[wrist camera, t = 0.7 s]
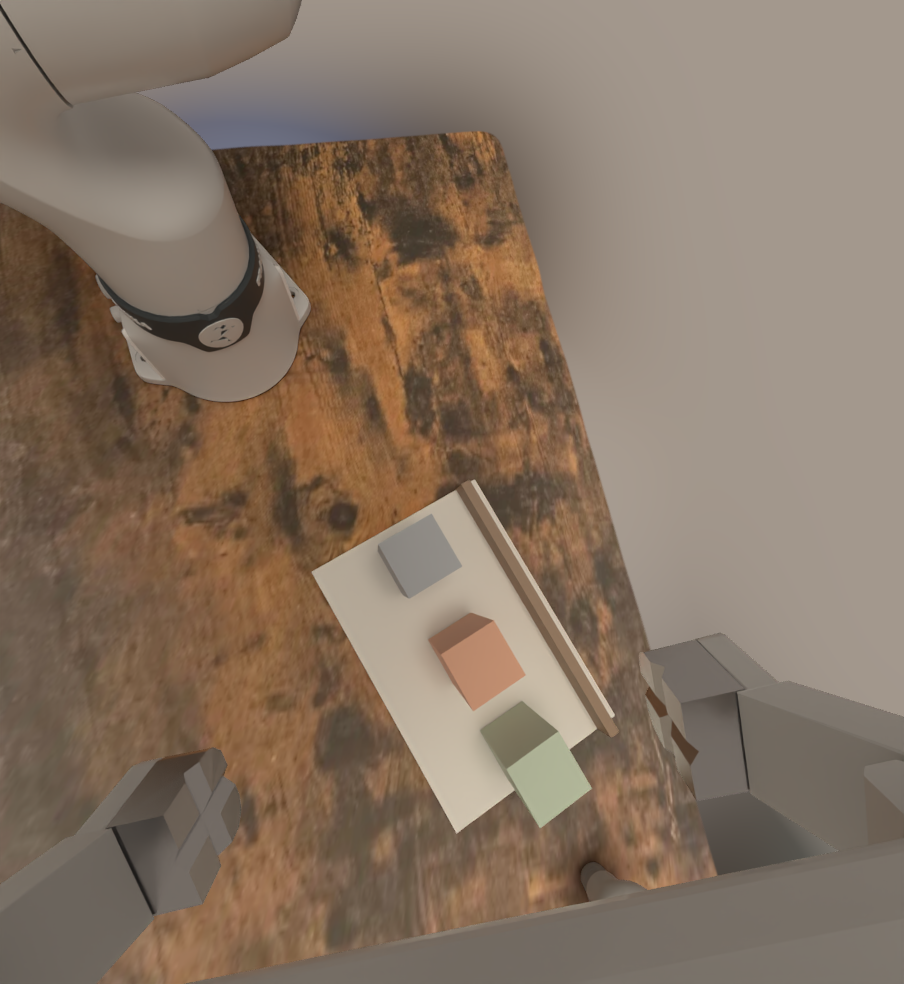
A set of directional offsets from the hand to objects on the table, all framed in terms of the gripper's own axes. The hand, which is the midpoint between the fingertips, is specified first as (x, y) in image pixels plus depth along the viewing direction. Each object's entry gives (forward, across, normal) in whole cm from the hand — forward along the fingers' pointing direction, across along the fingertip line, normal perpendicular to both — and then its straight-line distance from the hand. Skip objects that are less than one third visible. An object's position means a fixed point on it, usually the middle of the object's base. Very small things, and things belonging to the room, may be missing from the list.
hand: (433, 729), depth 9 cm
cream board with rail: (+38, +3, +19) cm, 42 cm away
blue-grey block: (+39, +6, +10) cm, 41 cm away
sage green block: (+34, 0, +28) cm, 44 cm away
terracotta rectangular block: (+36, +3, +19) cm, 41 cm away
